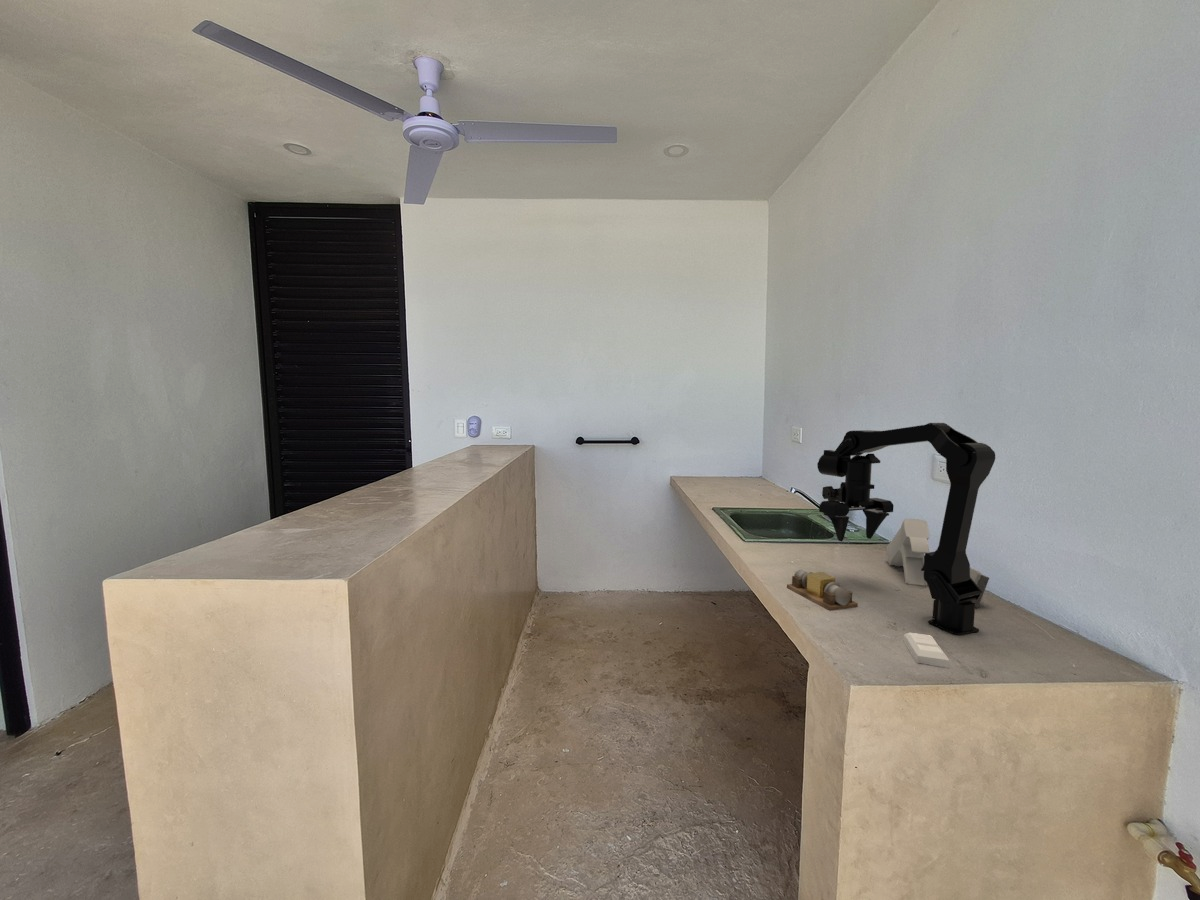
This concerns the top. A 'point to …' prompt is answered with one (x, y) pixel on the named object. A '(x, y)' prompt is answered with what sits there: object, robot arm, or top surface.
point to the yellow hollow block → (818, 583)
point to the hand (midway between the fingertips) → (854, 539)
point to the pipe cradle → (831, 597)
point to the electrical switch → (978, 583)
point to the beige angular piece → (910, 550)
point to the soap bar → (925, 649)
